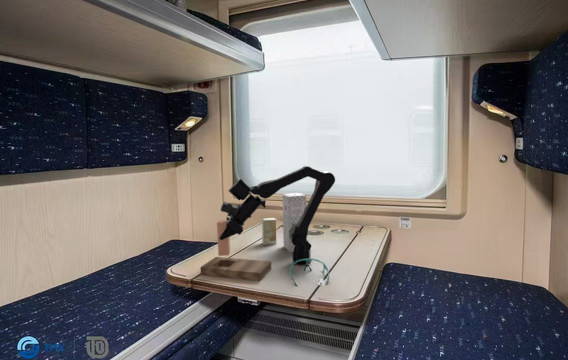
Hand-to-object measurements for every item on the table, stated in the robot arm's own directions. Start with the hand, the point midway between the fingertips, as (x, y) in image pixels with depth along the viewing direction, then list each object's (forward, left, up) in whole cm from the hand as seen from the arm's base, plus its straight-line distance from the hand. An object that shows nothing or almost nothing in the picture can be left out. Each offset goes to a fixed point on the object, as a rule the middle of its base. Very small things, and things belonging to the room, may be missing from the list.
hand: (220, 237), depth 135 cm
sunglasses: (-35, 0, -13) cm, 38 cm away
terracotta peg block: (-1, -1, -7) cm, 7 cm away
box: (-21, -32, -13) cm, 41 cm away
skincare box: (-7, -36, -13) cm, 39 cm away
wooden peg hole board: (-7, +2, -12) cm, 15 cm away
